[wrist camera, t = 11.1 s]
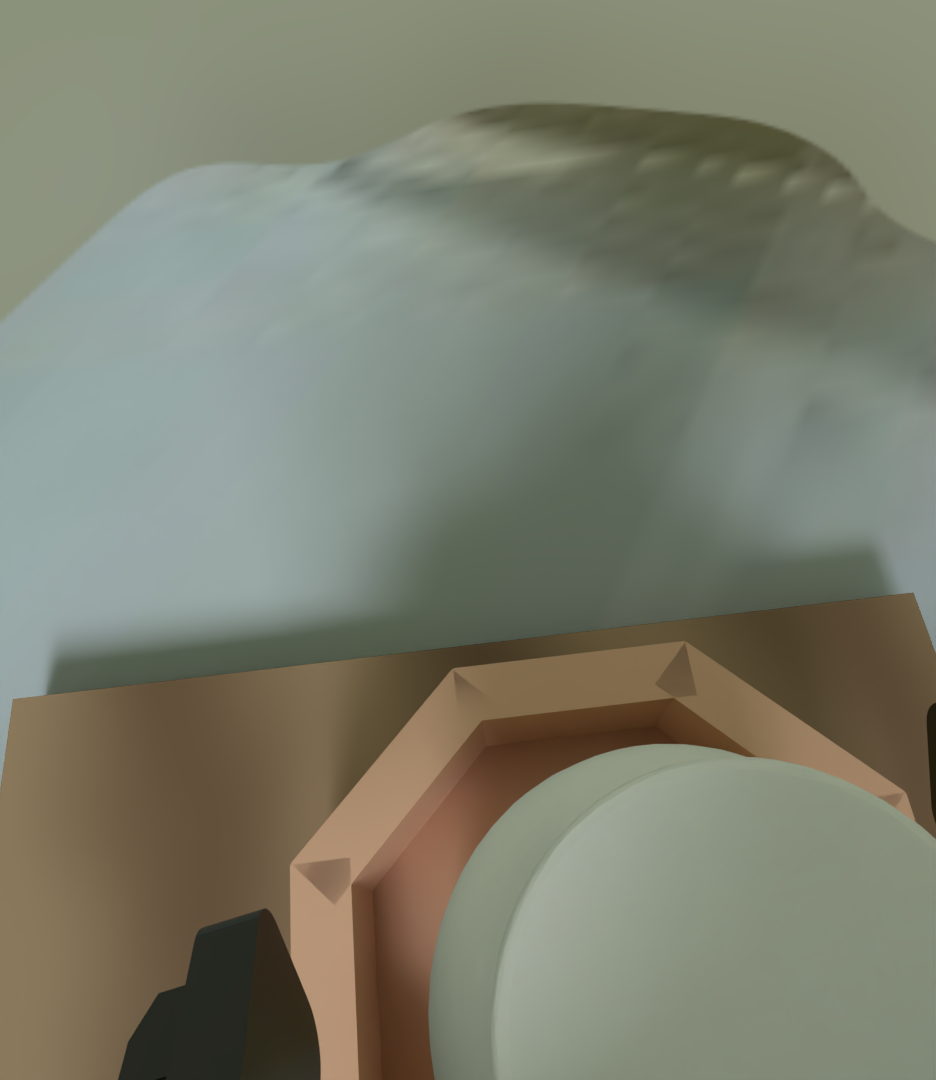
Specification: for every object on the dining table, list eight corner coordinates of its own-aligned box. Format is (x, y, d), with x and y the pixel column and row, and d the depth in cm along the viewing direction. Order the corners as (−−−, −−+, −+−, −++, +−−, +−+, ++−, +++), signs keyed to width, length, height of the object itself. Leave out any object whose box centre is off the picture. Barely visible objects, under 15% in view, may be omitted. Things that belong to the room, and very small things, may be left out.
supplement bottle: (824, 1115, 14) (1409, 1463, 5) (505, 1207, 13) (486, 1769, 4) (705, 785, 16) (947, 602, 7) (431, 857, 16) (321, 761, 7)
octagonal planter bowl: (335, 1367, 13) (288, 1480, 10) (318, 721, 18) (282, 682, 15) (986, 1295, 13) (1107, 1388, 10) (802, 664, 18) (854, 615, 15)
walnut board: (-64, 1570, 13) (-116, 1627, 12) (41, 712, 19) (12, 699, 18) (1178, 1431, 13) (1237, 1476, 12) (891, 612, 19) (912, 592, 18)
